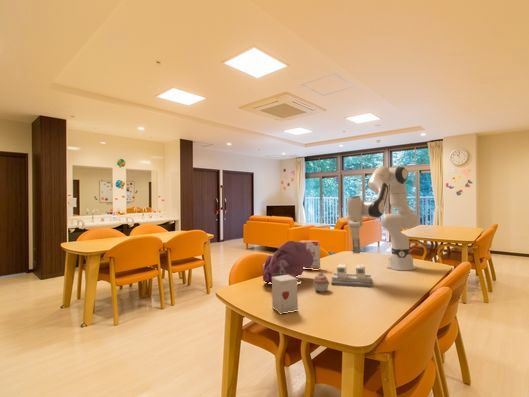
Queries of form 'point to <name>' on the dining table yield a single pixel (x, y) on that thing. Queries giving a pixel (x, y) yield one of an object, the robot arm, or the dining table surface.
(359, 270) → the rail plate
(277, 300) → the supplement box
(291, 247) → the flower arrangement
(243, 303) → the dining table surface
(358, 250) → the block
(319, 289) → the cupcake
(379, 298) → the dining table surface
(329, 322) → the dining table surface
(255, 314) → the dining table surface
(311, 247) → the cracker box
